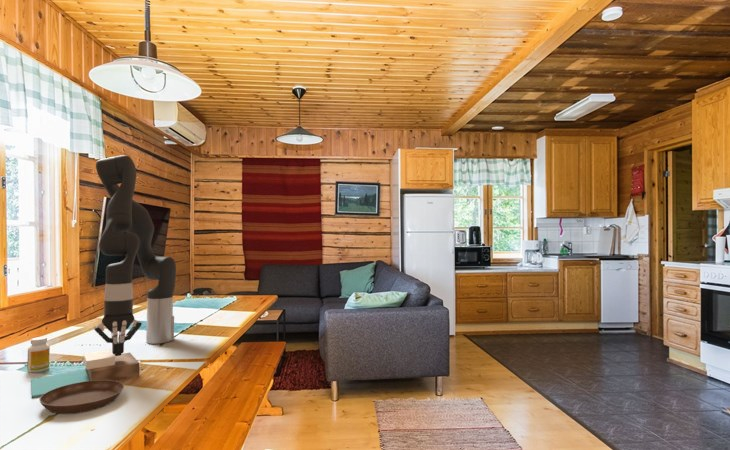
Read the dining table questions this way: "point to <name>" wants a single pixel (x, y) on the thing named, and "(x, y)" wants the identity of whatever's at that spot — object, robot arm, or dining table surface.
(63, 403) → the plant saucer
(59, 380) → the mat
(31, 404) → the dining table surface
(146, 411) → the dining table surface
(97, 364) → the white block
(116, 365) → the bronze rectangular block
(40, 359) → the supplement bottle
